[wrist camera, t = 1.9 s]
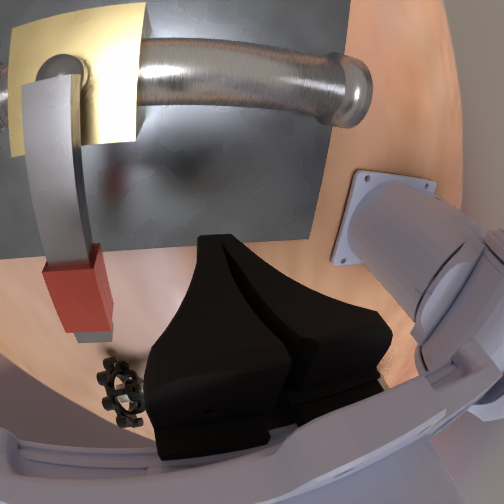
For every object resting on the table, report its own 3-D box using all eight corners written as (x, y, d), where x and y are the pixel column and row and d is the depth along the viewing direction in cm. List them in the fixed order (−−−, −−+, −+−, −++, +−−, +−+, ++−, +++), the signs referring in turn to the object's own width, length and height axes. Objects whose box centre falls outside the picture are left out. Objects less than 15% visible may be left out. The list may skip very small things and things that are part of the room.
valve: (229, 300, 23) (98, 344, 21) (253, 369, 17) (95, 412, 16) (248, 346, 27) (135, 381, 25) (270, 405, 21) (140, 440, 20)
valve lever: (41, 61, 6) (12, 60, 4) (94, 51, 6) (76, 44, 5) (79, 312, 12) (73, 348, 10) (118, 310, 12) (116, 347, 11)
